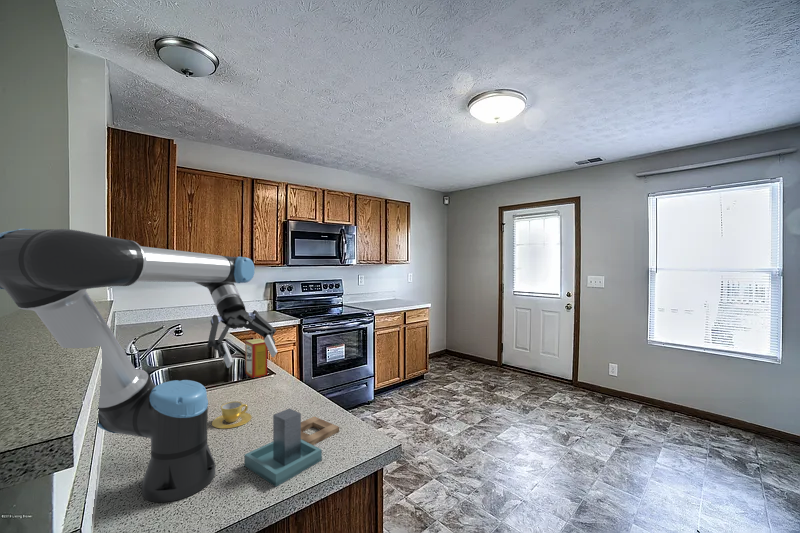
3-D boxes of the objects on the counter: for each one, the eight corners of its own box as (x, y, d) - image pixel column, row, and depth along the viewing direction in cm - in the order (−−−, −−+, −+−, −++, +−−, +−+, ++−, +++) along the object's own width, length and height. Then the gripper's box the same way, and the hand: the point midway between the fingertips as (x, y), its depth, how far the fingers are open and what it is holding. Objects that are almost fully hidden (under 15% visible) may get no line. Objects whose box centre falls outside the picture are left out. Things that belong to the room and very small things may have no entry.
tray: (276, 486, 85) (276, 474, 85) (244, 465, 93) (244, 454, 93) (321, 460, 96) (321, 449, 96) (289, 443, 105) (289, 433, 105)
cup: (216, 433, 111) (216, 416, 111) (208, 419, 120) (208, 404, 120) (256, 422, 118) (256, 406, 118) (245, 410, 128) (245, 395, 128)
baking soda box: (267, 375, 164) (267, 341, 164) (253, 378, 160) (252, 343, 159) (259, 370, 171) (259, 337, 171) (245, 373, 167) (245, 339, 166)
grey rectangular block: (284, 466, 92) (284, 420, 91) (273, 459, 95) (273, 414, 94) (300, 457, 96) (300, 413, 95) (289, 451, 99) (289, 408, 98)
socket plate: (308, 447, 103) (308, 442, 103) (283, 434, 110) (283, 430, 110) (339, 431, 112) (339, 426, 112) (314, 420, 119) (314, 416, 119)
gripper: (261, 306, 123) (286, 357, 115) (181, 314, 104) (204, 377, 95) (269, 292, 120) (296, 343, 111) (189, 298, 100) (213, 361, 92)
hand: (253, 359), depth 103 cm, fingers open, 13 cm apart
